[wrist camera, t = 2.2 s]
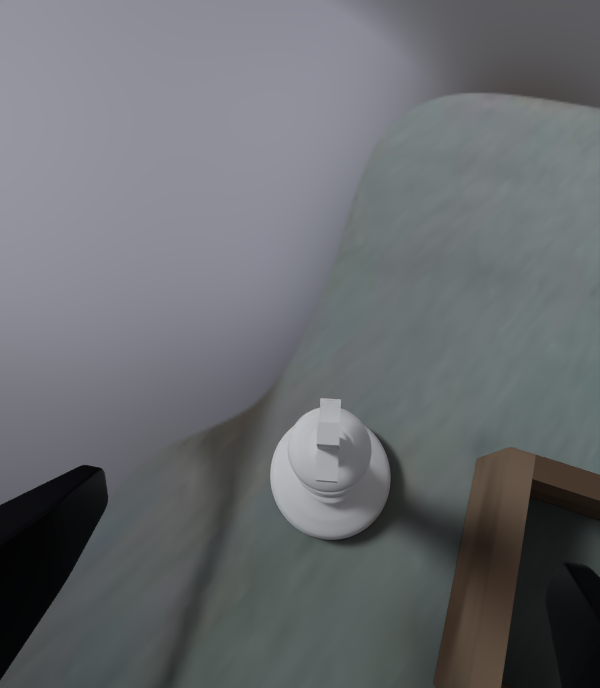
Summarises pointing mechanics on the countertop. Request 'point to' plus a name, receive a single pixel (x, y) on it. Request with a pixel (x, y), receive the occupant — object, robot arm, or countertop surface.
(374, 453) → the chess piece
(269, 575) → the countertop surface
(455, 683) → the walnut collar
